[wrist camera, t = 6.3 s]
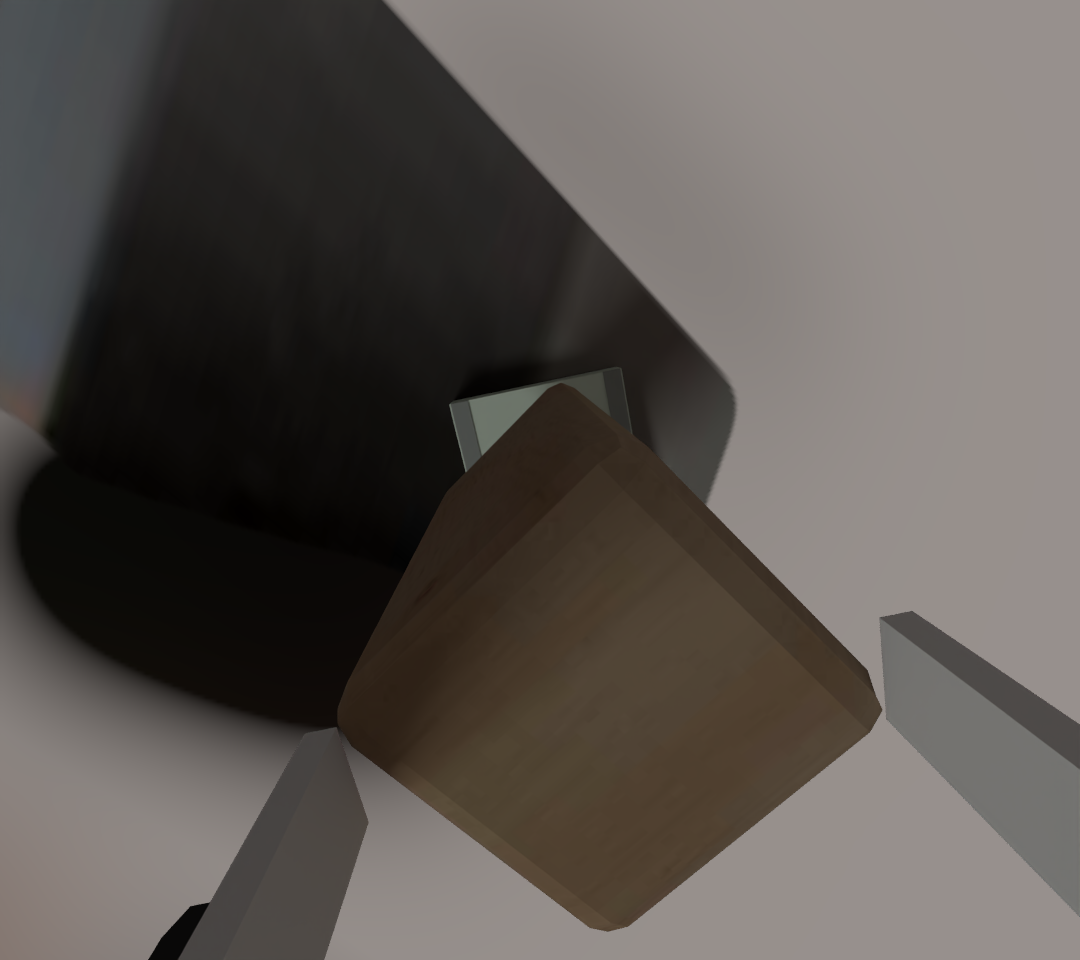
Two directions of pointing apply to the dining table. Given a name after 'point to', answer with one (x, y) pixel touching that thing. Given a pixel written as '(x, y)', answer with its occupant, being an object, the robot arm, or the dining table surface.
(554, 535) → the wooden block
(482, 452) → the dock
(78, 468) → the dining table surface
